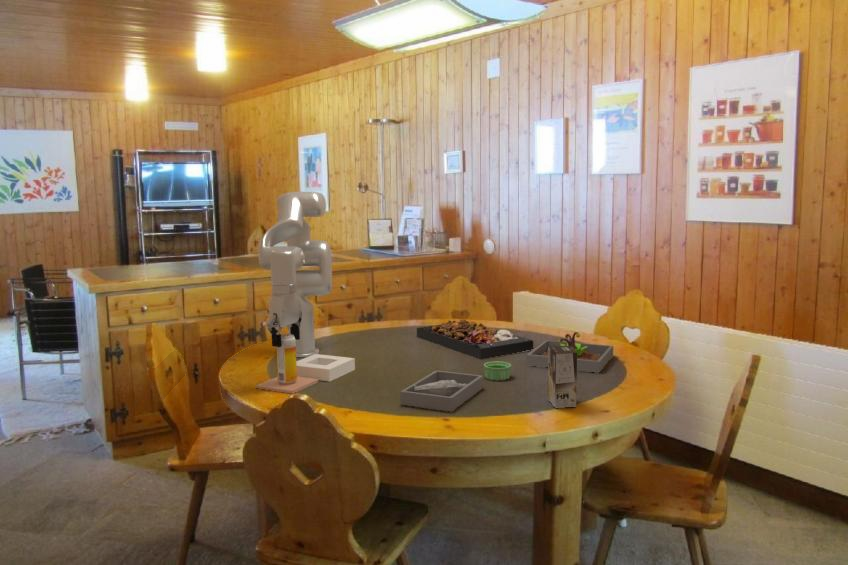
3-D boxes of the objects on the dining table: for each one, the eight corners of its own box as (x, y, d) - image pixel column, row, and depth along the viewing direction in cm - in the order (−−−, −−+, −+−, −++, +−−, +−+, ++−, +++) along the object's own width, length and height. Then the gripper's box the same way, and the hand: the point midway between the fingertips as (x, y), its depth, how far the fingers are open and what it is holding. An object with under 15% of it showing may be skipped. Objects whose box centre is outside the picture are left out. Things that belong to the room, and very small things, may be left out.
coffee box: (577, 408, 199) (578, 352, 197) (554, 409, 199) (555, 353, 196) (567, 398, 208) (568, 345, 206) (546, 399, 208) (547, 345, 205)
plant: (565, 372, 238) (566, 339, 237) (533, 359, 256) (533, 329, 254) (613, 365, 247) (614, 333, 245) (578, 353, 264) (579, 323, 263)
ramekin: (478, 376, 234) (478, 363, 233) (502, 372, 237) (502, 360, 237) (491, 382, 225) (491, 369, 225) (516, 379, 229) (516, 366, 228)
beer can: (300, 380, 226) (298, 334, 224) (291, 385, 220) (289, 338, 218) (283, 378, 228) (281, 333, 226) (274, 384, 222) (271, 337, 220)
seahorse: (457, 382, 222) (405, 383, 210) (481, 377, 213) (427, 378, 201) (459, 399, 220) (406, 401, 209) (483, 394, 212) (429, 396, 200)
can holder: (288, 376, 235) (288, 364, 234) (315, 365, 249) (315, 353, 249) (329, 381, 228) (329, 369, 228) (354, 369, 242) (354, 358, 242)
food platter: (533, 352, 268) (533, 325, 266) (480, 361, 255) (480, 333, 254) (465, 331, 306) (465, 308, 304) (416, 338, 293) (416, 314, 292)
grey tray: (400, 404, 204) (400, 391, 203) (435, 382, 226) (435, 370, 225) (451, 412, 197) (451, 398, 196) (483, 388, 219) (483, 375, 219)
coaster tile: (255, 388, 221) (255, 385, 221) (282, 377, 234) (282, 374, 233) (292, 394, 215) (292, 390, 215) (318, 382, 228) (318, 379, 227)
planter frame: (526, 366, 245) (526, 354, 245) (545, 350, 268) (545, 340, 267) (599, 373, 235) (599, 361, 234) (613, 356, 257) (613, 345, 256)
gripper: (290, 284, 229) (292, 335, 232) (256, 293, 214) (259, 348, 217) (309, 285, 226) (311, 337, 229) (276, 295, 211) (279, 350, 214)
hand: (286, 342), depth 223 cm, fingers open, 9 cm apart
